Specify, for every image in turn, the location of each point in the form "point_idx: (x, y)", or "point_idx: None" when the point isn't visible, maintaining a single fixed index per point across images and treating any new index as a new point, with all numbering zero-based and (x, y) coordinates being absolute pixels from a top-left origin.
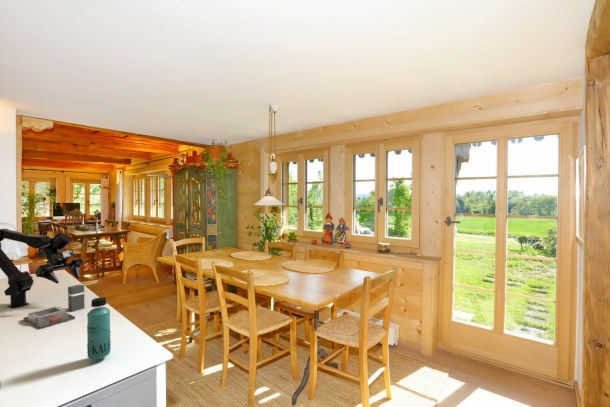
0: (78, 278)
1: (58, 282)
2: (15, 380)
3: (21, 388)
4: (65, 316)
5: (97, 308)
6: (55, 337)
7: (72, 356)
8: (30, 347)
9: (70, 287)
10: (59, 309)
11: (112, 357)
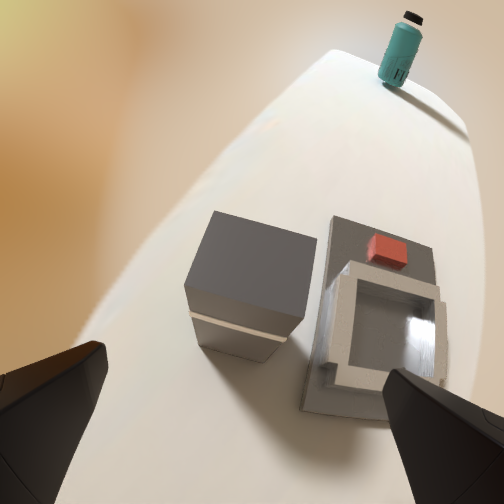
0: (103, 360)
1: (395, 369)
2: (462, 135)
3: (456, 121)
4: (350, 252)
5: (411, 27)
6: (414, 171)
7: (409, 110)
8: (452, 182)
9: (308, 271)
10: (354, 302)
11: (375, 77)
